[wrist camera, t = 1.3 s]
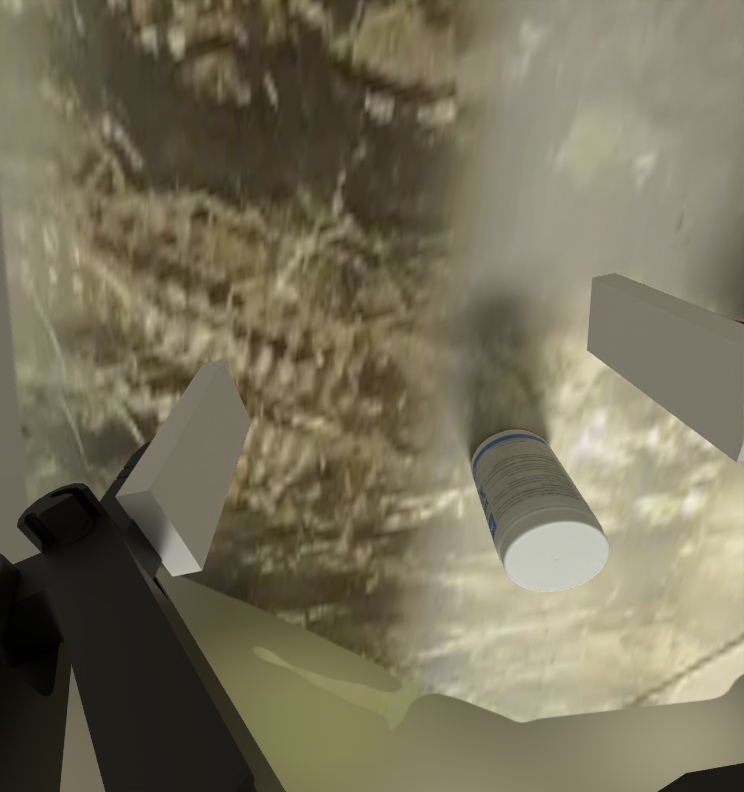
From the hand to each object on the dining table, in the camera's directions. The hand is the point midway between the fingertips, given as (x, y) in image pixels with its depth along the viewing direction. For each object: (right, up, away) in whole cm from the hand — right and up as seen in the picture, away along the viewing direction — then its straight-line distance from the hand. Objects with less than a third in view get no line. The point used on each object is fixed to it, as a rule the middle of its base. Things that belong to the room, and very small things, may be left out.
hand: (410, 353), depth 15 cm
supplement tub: (+15, -9, +35) cm, 39 cm away
